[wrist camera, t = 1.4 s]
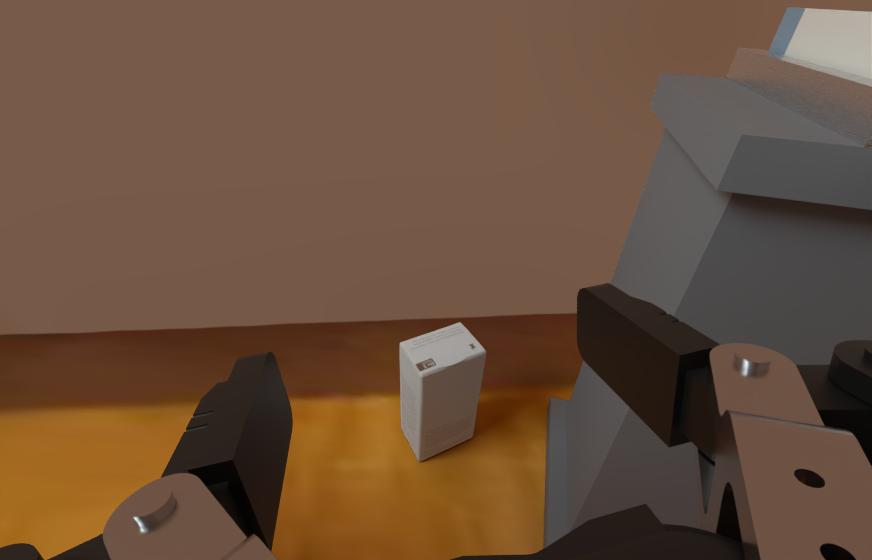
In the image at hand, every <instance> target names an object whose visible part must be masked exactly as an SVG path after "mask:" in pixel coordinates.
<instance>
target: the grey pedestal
mask: <svg viewBox="0 0 872 560" xmlns="http://www.w3.org/2000/svg"><path fill="white" fill-rule="evenodd" d="M650 108H651V109H652V111H653V112H654V113H655V114H656V116H657V117H658V118H659V119H660V121H661V122H662V123H663V124H664V126H665V129H664V132H663V135H662V138H661V140H660V143H659V146H658V149H657V152H656V155H655V158H654V161H653V163H652V166H651V169H650V172H649V175H648V178H647V181H646V183H645V186H644V189H643V192H642V195H641V198H640V201H639V203H638V206H637V209H636V212H635V215H634V218H633V221H632V224H631V226H630V229H629V233H628V235H627V238H626V241H625V244H624V246H623V250H622V252H621V255H620V258H619V261H618V264H617V266H616V270H615V272H614V275H613V278H612V281H611V284H612V285H613V286H615V287H617V288H618V289H620V290H621V291H623V292H625V293H626V294H628V295H629V296H631V297H634V298H638V299H641V300H644V301H647V302H650V303H652V304H654V305H656V306H657V307H659V308H661V309H662V310H664V311H666V313H667V314H671V315H672V316H674V317H676V318H677V319H679V322H684V323H686V324H687V325H689V326H691V327H692V328H694V329H695V330H697V331H699V332H700V333H702V334H704V335H705V336H707V337H709V338H710V339H712V340H714V341H715V342H717V343H719V344H720V345H722V344H728V343H745V344H752V345H757V346H762V347H765V348H768V349H771V350H774V351H776V352H778V353H781V354H782V355H784V356H786V357H787V358H789V359H790V360H791V361H792V362H793V363H794V364H795V365H830V362H831V358H832V355H833V351H834V348H835V346H836V345H837V344H839V343H841V342H844V341H850V340H869V341H872V79H871V78H867V77H863V76H860V75H856V74H852V73H849V72H845V71H841V70H837V69H834V68H830V67H826V66H822V65H819V64H815V63H811V62H807V61H804V60H800V59H796V58H793V57H789V56H785V55H781V54H778V53H774V52H770V51H766V50H763V49H752V48H739V47H738V49H737V52H736V54H735V57H734V59H733V62H732V64H731V67H730V69H729V72H728V74H727V77H726V78H717V77H705V76H693V75H682V74H670V73H661V75H660V78H659V81H658V84H657V87H656V91H655V93H654V97H653V100H652V103H651V106H650ZM695 450H696V446H695V445H694V444H693V443H692V442H688V443H685V444H681V445H677V446H673V447H670V448H669V447H668V446H667V445H666V444H665V443H664V442H663V441H662V440H661V439H660V438H659V437H658V436H657V435H656V434H655V433H654V432H653V431H652V430H651V429H650V428H649V427H648V426H647V425H646V424H645V423H644V422H643V421H642V420H641V419H640V418H639V417H638V416H637V415H636V413H635V412H634V411H633V410H632V409H631V408H630V407H629V406H628V405H627V404H626V403H625V402H624V401H623V400H622V399H621V398H620V397H619V396H618V395H617V394H616V393H615V392H614V391H613V390H612V389H611V388H610V387H609V386H608V385H607V384H606V383H605V382H604V381H603V380H602V379H601V378H600V377H599V376H598V375H597V374H596V373H595V372H594V371H593V370H592V369H591V368H590V367H589V366H588V365H587V364H586V362H585V361H583V364H582V367H581V370H580V372H579V375H578V378H577V381H576V384H575V387H574V390H573V392H572V395H571V398H570V401H568V400H563V399H559V398H554V397H550V401H549V404H548V411H547V446H546V481H545V515H544V548H546V547H547V546H549V545H550V544H552V543H554V542H555V541H557V540H558V539H560V538H561V537H563V536H565V535H566V534H568V533H569V532H571V531H572V530H574V529H575V528H577V527H579V526H580V525H582V524H583V523H585V522H586V521H588V520H590V519H594V518H597V517H601V516H604V515H608V514H611V513H615V512H618V511H622V510H625V509H629V508H632V507H636V506H639V505H643V504H647V505H648V507H649V508H650V509H651V511H652V512H653V513H654V514H655V516H656V517H657V518H658V520H659V521H660V522H661V523H662V524H673V525H683V526H688V527H693V528H698V529H701V528H700V517H699V506H698V494H697V483H696V472H695V461H694V459H695Z"/></svg>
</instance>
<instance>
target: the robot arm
mask: <svg viewBox="0 0 872 560" xmlns="http://www.w3.org/2000/svg"><path fill="white" fill-rule="evenodd" d="M577 344H578V349H579V352H580V354H581V356H582V358H583V360H584V361H585V362H586V364H587V365H588V366H589V367H590V368H591V369H592V370H593V371H594V372H595V373H596V374H597V375H598V376H599V377H600V378H601V379H602V380H603V381H604V382H605V383H606V384H607V385H608V386H609V387H610V388H611V389H612V390H613V391H614V392H615V393H616V394H617V395H618V396H619V397H620V398H621V399H622V400H623V401H624V402H625V403H626V404H627V405H628V406H629V407H630V408H631V409H632V410H633V411H634V412H635V413H636V415H637V416H638V417H639V418H640V419H641V420H642V421H643V422H644V423H645V424H646V425H647V426H648V427H649V428H650V429H651V430H652V431H653V432H654V433H655V434H656V435H657V436H658V437H659V438H660V439H661V440H662V441H663V442H664V443H665V444H666V445H667V446H668V447H669V448H670V447H673V446H677V445H681V444H685V443H688V442H692V443H693V444H694V445H695V446H696V450H695V459H694V461H695V472H696V483H697V494H698V506H699V517H700V528H701V529H698V528H693V527H688V526H683V525H673V524H662V523H661V522H660V521H659V520H658V518H657V517H656V516H655V514H654V513H653V512H652V511H651V509H650V508H649V507H648V505H647V504H643V505H639V506H636V507H632V508H629V509H625V510H622V511H618V512H615V513H611V514H608V515H604V516H601V517H597V518H594V519H590V520H588V521H586V522H585V523H583V524H582V525H580V526H579V527H577V528H575V529H574V530H572V531H571V532H569V533H568V534H566V535H565V536H563V537H561V538H560V539H558V540H557V541H555V542H554V543H552V544H550V545H549V546H547V547H546V548H544V549H543V550H541V551H539V552H537V553H534V554H529V555H488V556H461V557H458V558H454V559H451V560H872V341H869V340H850V341H844V342H841V343H839V344H837V345H836V346H835V348H834V351H833V355H832V358H831V362H830V365H795V364H794V363H793V362H792V361H791V360H790V359H789V358H787V357H786V356H784V355H782V354H781V353H778V352H776V351H774V350H771V349H768V348H765V347H762V346H757V345H752V344H745V343H728V344H722V345H720V344H719V343H717V342H715V341H714V340H712V339H710V338H709V337H707V336H705V335H704V334H702V333H700V332H699V331H697V330H695V329H694V328H692V327H691V326H689V325H687V324H686V323H684V322H679V319H677V318H676V317H674V316H672V315H671V314H667V313H666V311H664V310H662V309H661V308H659V307H657V306H656V305H654V304H652V303H650V302H647V301H644V300H641V299H638V298H634V297H631V296H629V295H628V294H626V293H625V292H623V291H621V290H620V289H618V288H617V287H615V286H613V285H612V284H609V283H606V284H602V285H597V286H592V287H587V288H582V289H580V291H579V292H578V297H577ZM292 425H293V421H292V411H291V406H290V402H289V399H288V396H287V393H286V389H285V386H284V383H283V380H282V377H281V374H280V370H279V367H278V364H277V361H276V358H275V356H274V354H273V353H272V352H266V353H261V354H257V355H252V356H247V357H242V358H238V359H237V361H236V363H235V366H234V368H233V370H232V372H231V374H230V377H229V379H228V381H226V382H221V383H218V384H216V385H215V386H214V387H213V388H212V389H211V390H210V391H209V392H208V393H207V394H206V395H205V396H204V397H203V398H202V399H201V401H200V403H199V405H198V406H197V408H196V410H195V412H194V414H193V418H191V420H190V422H189V424H188V426H187V428H186V432H184V434H183V436H182V437H181V439H180V441H179V443H178V445H177V447H176V449H175V451H174V453H173V455H172V457H171V459H170V461H169V463H168V465H167V467H166V469H165V470H164V472H163V474H162V476H161V478H160V479H157V480H155V481H153V482H151V483H149V484H147V485H145V486H144V487H142V488H140V489H139V490H137V491H136V492H134V493H133V494H132V495H131V496H129V497H128V498H127V499H126V500H125V501H124V502H122V503H121V504H120V505H119V506H118V508H117V509H116V510H115V511H114V512H113V514H112V515H111V516H110V518H109V519H108V521H107V523H106V525H105V528H104V531H103V534H101V535H99V536H97V537H95V538H93V539H91V540H89V541H86V542H84V543H82V544H80V545H78V546H76V547H74V548H72V549H69V550H67V551H65V552H63V553H61V554H59V555H57V556H55V557H52V558H50V559H48V560H277V559H276V558H275V556H274V555H273V554H272V553H271V549H272V543H273V537H274V532H275V526H276V520H277V514H278V509H279V503H280V497H281V491H282V485H283V480H284V474H285V468H286V462H287V457H288V451H289V445H290V439H291V433H292ZM0 560H44V559H43V558H42V556H41V555H40V553H39V552H38V551H37V549H36V548H35V547H34V546H32V545H30V544H24V543H20V544H13V545H8V546H5V547H2V548H0Z"/></svg>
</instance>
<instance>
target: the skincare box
mask: <svg viewBox="0 0 872 560" xmlns="http://www.w3.org/2000/svg"><path fill="white" fill-rule="evenodd" d="M485 358H486V350H485V349H484V348H483V347H482V346H481V345H480V343H479V342H478V341H477V340H476V339H475V338H474V337H473V335H472V334H471V333H470V332H469V331H468V330H467V329H466V328H465V327H464V326H463V325H462V324H461V323H457V324H454V325H451V326H448V327H445V328H442V329H439V330H436V331H433V332H430V333H427V334H424V335H421V336H418V337H415V338H412V339H409V340H406V341H403V342H401V343H400V394H401V429H402V430H403V432H404V434H405V436H406V438H407V440H408V442H409V444H410V446H411V448H412V450H413V452H414V454H415V456H416V458H417V460H418V461H419V462H420V461H423V460H425V459H427V458H429V457H431V456H434V455H436V454H438V453H440V452H442V451H444V450H447V449H449V448H451V447H453V446H455V445H457V444H460V443H462V442H464V441H466V440H468V439H470V438H472V437H473V433H474V427H475V421H476V414H477V408H478V402H479V396H480V389H481V383H482V376H483V370H484V364H485Z"/></svg>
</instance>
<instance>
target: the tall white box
mask: <svg viewBox="0 0 872 560" xmlns="http://www.w3.org/2000/svg"><path fill="white" fill-rule="evenodd" d="M769 51H770V52H774V53H778V54H781V55H785V56H789V57H793V58H796V59H800V60H804V61H807V62H811V63H815V64H819V65H822V66H826V67H830V68H834V69H837V70H841V71H845V72H849V73H852V74H856V75H860V76H863V77H867V78H871V79H872V12H863V11H844V10H826V9H807V8H789V7H788V8H787V11H786V13H785V15H784V17H783V20H782V22H781V24H780V27H779V29H778V31H777V33H776V36H775V38H774V40H773V42H772V45H771V47H770V49H769Z"/></svg>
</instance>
